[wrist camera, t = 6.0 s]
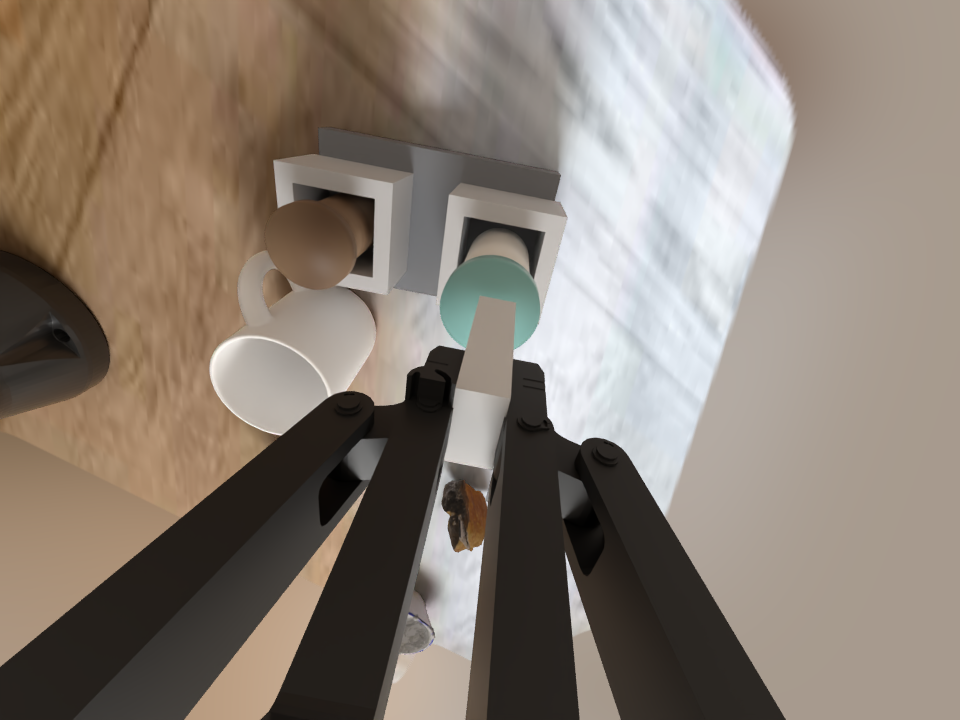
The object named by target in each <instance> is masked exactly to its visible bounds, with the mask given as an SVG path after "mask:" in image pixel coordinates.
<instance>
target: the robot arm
mask: <svg viewBox="0 0 960 720" xmlns="http://www.w3.org/2000/svg"><path fill="white" fill-rule="evenodd" d="M515 313H516V303H515V302H510V301H505V300H500V299H495V298H490V297H485V296H480V297H479V301H478V304H477V308H476V312H475V316H474V320H473V323H472V327H471V331H470V335H469V338H468V342H467V346H466V350H465V351H464V350H459V349H454V348H449V347H444V346H438V347H436V348H435V349H433V350H432V351H430V353H429V356H428V358H427V361H426V363H425V365H424V366H421V367H417V368H415V369H413V370H411V371H410V372H409V373H408V374H407V383H406V395H405V401H404V402H402V403H399V404H395V405H388V406H374V402H373V401H372V399H371V398H370V397H369V396H367V395H365V394H363V393H359V392H355V391H344V392H340V393H336V394H333V395H332V396H330V397H328V398H326V399H325V400H324V401H323V402H322V403H320V404H319V405H318V406H317V407H316V408H314V409H313V410H312V411H311V412H309V413H308V414H307V415H306V416H305V417H303V418H302V419H301V420H300V421H299V422H297V423H296V424H295V425H294V426H292V427H291V428H290V429H289V430H288V431H286V432H285V433H284V434H283V435H282V436H280V437H279V438H278V439H277V440H275V441H274V442H273V443H272V444H271V445H269V446H268V447H267V448H266V449H265V450H263V451H262V452H261V453H260V454H258V455H257V456H256V457H255V458H254V459H252V460H251V461H250V462H249V463H247V464H246V465H245V466H244V467H243V468H241V469H240V470H239V471H238V472H237V473H235V474H234V475H233V476H232V477H230V478H229V479H228V480H227V481H226V482H224V483H223V484H222V485H221V486H220V487H218V488H217V489H216V490H215V491H213V492H212V493H211V494H210V495H209V496H207V497H206V498H205V499H204V500H203V501H201V502H200V503H199V504H198V505H196V506H195V507H194V508H193V509H192V510H190V511H189V512H188V513H187V514H186V515H184V516H183V517H182V518H181V519H179V520H178V521H177V522H176V523H175V524H173V525H172V526H171V527H170V528H169V529H168V530H166V531H165V532H164V533H162V534H161V535H160V536H159V537H158V538H156V539H155V540H154V541H153V542H151V543H150V544H149V545H148V546H147V547H146V548H144V549H143V550H142V551H141V552H139V553H138V554H137V555H136V556H134V557H133V558H132V559H131V560H130V561H128V562H127V563H126V564H125V565H124V566H122V567H121V568H120V569H119V570H117V571H116V572H115V573H114V574H113V575H111V576H110V577H109V578H108V579H107V580H105V581H104V582H103V583H102V584H100V585H99V586H98V587H97V588H96V589H95V590H93V591H92V592H91V593H90V594H88V595H87V596H86V597H85V598H83V599H82V600H81V601H80V602H79V603H77V604H76V605H75V606H74V607H73V608H71V609H70V610H69V611H68V612H66V613H65V614H64V615H63V616H62V617H60V618H59V619H58V620H57V621H56V622H55V623H53V624H52V625H51V626H49V627H48V628H47V629H46V630H45V631H43V632H42V633H41V634H40V635H39V636H37V637H36V638H35V639H34V640H32V641H31V642H30V643H29V644H28V645H27V646H25V647H24V648H23V649H22V650H21V651H19V652H18V653H17V654H15V655H14V656H13V657H12V658H11V659H9V660H8V661H7V662H6V663H5V664H3V665H2V666H1V667H0V720H184V719H185V718H186V716H187V715H188V714H189V713H190V711H191V710H192V709H193V707H194V706H195V705H196V704H197V702H198V701H199V700H200V698H201V697H202V696H203V695H204V693H205V692H206V691H207V690H208V688H209V687H210V686H211V685H212V683H213V682H214V680H215V679H216V678H217V677H218V676H219V674H220V673H221V672H222V671H223V669H224V668H225V667H226V665H227V664H228V663H229V662H230V660H231V659H232V658H233V656H234V655H235V654H236V653H237V651H238V650H239V649H240V648H241V646H242V645H243V644H244V642H245V641H246V640H247V639H248V637H249V636H250V635H251V634H252V632H253V631H254V630H255V628H256V627H257V626H258V625H259V623H260V622H261V621H262V620H263V618H264V617H265V616H266V615H267V613H268V612H269V611H270V609H271V608H272V607H273V606H274V604H275V603H276V602H277V601H278V599H279V598H280V597H281V595H282V594H283V593H284V591H285V590H286V589H287V588H288V587H289V585H290V584H291V583H292V581H293V580H294V579H295V578H296V576H297V575H298V574H299V573H300V571H301V570H302V569H303V567H304V566H305V565H306V564H307V562H308V561H309V560H310V559H311V557H312V556H313V555H314V553H315V552H316V551H317V550H318V548H319V547H320V546H321V545H322V543H323V542H324V541H325V539H326V538H327V537H328V536H329V534H330V533H331V532H332V531H333V529H334V528H335V527H336V525H337V524H338V523H339V522H340V520H341V519H342V518H343V516H344V515H345V514H346V513H347V511H348V510H349V509H350V508H351V506H352V505H353V504H354V502H355V501H356V500H357V499H358V497H359V496H360V495H361V494H362V492H363V491H364V490H365V488H366V487H367V486H368V487H367V489H366V491H365V494H364V496H363V498H362V501H361V503H360V505H359V508H358V510H357V512H356V515H355V517H354V519H353V522H352V524H351V526H350V529H349V531H348V533H347V536H346V538H345V540H344V543H343V545H342V547H341V550H340V552H339V554H338V557H337V559H336V561H335V564H334V566H333V568H332V571H331V573H330V575H329V577H328V580H327V582H326V584H325V587H324V589H323V591H322V594H321V596H320V598H319V601H318V603H317V605H316V608H315V610H314V613H313V615H312V617H311V619H310V622H309V624H308V627H307V629H306V631H305V633H304V636H303V638H302V640H301V643H300V645H299V647H298V650H297V652H296V654H295V657H294V659H293V661H292V664H291V666H290V668H289V671H288V673H287V675H286V678H285V680H284V682H283V684H282V687H281V689H280V692H279V694H278V696H277V698H276V700H275V702H274V704H273V705H272V707H271V709H270V710H269V712H268V713H267V714H266V715H265V716H264V717H263V718H262V719H261V720H383V718H384V714H385V710H386V706H387V701H388V697H389V693H390V689H391V685H392V680H393V676H394V672H395V668H396V664H397V659H398V655H399V651H400V647H401V642H402V638H403V634H404V630H405V625H406V621H407V617H408V613H409V609H410V604H411V600H412V596H413V592H414V587H415V583H416V579H417V575H418V570H419V566H420V562H421V558H422V554H423V549H424V545H425V541H426V537H427V532H428V528H429V524H430V520H431V515H432V511H433V507H434V503H435V499H436V494H437V490H438V486H439V482H440V477H441V473H442V467H443V461H448V462H454V463H459V464H464V465H469V466H474V467H479V468H484V469H489V470H492V469H493V474H492V478H491V482H490V485H489V489H488V493H487V497H486V500H485V501H487V502H488V507H487V517H486V526H485V536H484V546H483V555H482V565H481V575H480V585H479V594H478V604H477V614H476V623H475V633H474V643H473V652H472V662H471V672H470V682H469V691H468V701H467V710H466V720H579V708H578V697H577V685H576V673H575V662H574V651H573V640H572V628H571V616H570V605H569V593H568V582H567V570H566V559H565V552H566V555H567V558H568V561H569V564H570V567H571V570H572V573H573V576H574V579H575V582H576V585H577V588H578V591H579V594H580V597H581V600H582V603H583V606H584V609H585V613H586V616H587V619H588V622H589V625H590V628H591V631H592V633H593V637H594V640H595V643H596V646H597V649H598V652H599V654H600V658H601V661H602V664H603V667H604V670H605V673H606V676H607V679H608V682H609V685H610V688H611V691H612V694H613V697H614V700H615V703H616V706H617V709H618V712H619V715H620V718H621V720H786V719H785V718H784V716H783V714H782V712H781V711H780V709H779V707H778V706H777V704H776V702H775V701H774V699H773V697H772V696H771V694H770V692H769V691H768V689H767V687H766V686H765V684H764V683H763V681H762V679H761V677H760V676H759V674H758V673H757V671H756V669H755V667H754V666H753V664H752V662H751V661H750V659H749V657H748V656H747V654H746V652H745V651H744V649H743V647H742V646H741V644H740V642H739V641H738V639H737V637H736V635H735V634H734V632H733V631H732V629H731V627H730V626H729V624H728V622H727V621H726V619H725V617H724V615H723V614H722V612H721V610H720V609H719V607H718V606H717V604H716V602H715V601H714V599H713V597H712V595H711V594H710V592H709V590H708V589H707V587H706V585H705V584H704V582H703V580H702V579H701V577H700V575H699V574H698V572H697V570H696V569H695V567H694V565H693V564H692V562H691V560H690V559H689V557H688V555H687V554H686V552H685V550H684V548H683V547H682V545H681V543H680V542H679V540H678V538H677V537H676V535H675V533H674V532H673V530H672V529H671V527H670V525H669V523H668V522H667V520H666V518H665V517H664V515H663V513H662V512H661V510H660V508H659V507H658V505H657V503H656V502H655V500H654V498H653V497H652V495H651V493H650V492H649V490H648V488H647V487H646V485H645V483H644V482H643V480H642V478H641V477H640V475H639V473H638V471H637V470H636V468H635V466H634V465H633V463H632V461H631V460H630V458H629V456H628V455H627V454H626V453H625V452H624V450H623V449H622V448H620V447H619V446H618V445H616V444H615V443H613V442H610V441H608V440H606V439H601V438H589V439H587V440H585V441H584V442H582V445H578V444H576V443H574V442H571V441H569V440H567V439H565V438H563V437H561V436H560V435H559V434H557V433H556V432H555V431H554V427H553V424H552V422H551V421H550V419H549V418H548V417H547V406H546V392H545V384H544V383H545V378H544V372H543V371H542V369H541V368H540V366H539V365H538V364H536V363H531V362H525V361H520V360H515V359H513V349H514V331H515ZM109 361H110V359H109V350H108V346H107V343H106V340H105V337H104V335H103V333H102V331H101V329H100V327H99V325H98V324H97V322H96V321H95V319H94V318H93V316H92V315H91V313H90V312H89V311H88V310H87V308H86V307H85V306H84V305H83V304H82V303H81V301H80V300H79V299H78V298H77V297H76V296H75V295H74V294H73V293H72V292H71V291H69V290H68V289H67V288H66V287H65V286H64V285H63V284H61V283H60V282H59V281H58V280H56V279H55V278H54V277H52V276H51V275H49V274H48V273H47V272H45V271H43V270H42V269H40V268H39V267H37V266H35V265H34V264H32V263H30V262H28V261H26V260H24V259H22V258H20V257H17V256H15V255H13V254H10V253H7V252H4V251H1V250H0V419H2V418H6V417H9V416H13V415H16V414H20V413H23V412H27V411H30V410H34V409H37V408H41V407H44V406H48V405H51V404H55V403H58V402H61V401H65V400H68V399H71V398H74V397H76V396H78V395H80V394H82V393H83V392H85V391H86V390H88V389H90V388H91V387H93V386H95V385H96V384H98V383H99V382H100V381H101V380H102V379H103V378H104V377H105V375H106V373H107V371H108V368H109ZM493 465H494V468H493Z"/></svg>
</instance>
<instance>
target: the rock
mask: <svg viewBox="0 0 960 720" xmlns="http://www.w3.org/2000/svg"><path fill="white" fill-rule="evenodd" d="M442 506H443V509H444V511H445V512H447V513H448V514H449V515H450V518H449V521H448V532H449V535H450V539H451V544H452V547H453V550H454V551H455V552H458V553H459V551H462V550H464V549H468V550H470V551H472V550H473V547H478V546H480V545H482V541H483V539H484V536H485V526H486V517H487V504H486V501H485V498H484V496H483V494H482V493H481V492H480V491H475V489H474V488H472V487H471V486H470V485H468V484H466V483H465V480H458V481H456V480H455V481H451V482H449V483H448V484H446V485H445V488H444V491H443V499H442Z"/></svg>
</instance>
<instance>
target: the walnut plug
mask: <svg viewBox="0 0 960 720" xmlns="http://www.w3.org/2000/svg"><path fill="white" fill-rule="evenodd" d="M374 214H375V199H374V198H368V197H363V196H358V195H353V194H348V193H343V192H340V193H338V194H335V195H333V196H330V197H328V198H325V199H323V200H320V201H315V200H309V199H304V200H297V201H294V202H291V203H289V204H286V205H283V206H281V207H279V208H278V209H276V210H275V211H274V212H273V213H272V214H271V216H270V217H269V219H268V221H267V224H266V228H265V244H266V248H267V251H268V254H269V256H270V258H271V260H272V262H273V263H274V265H275V266H276V268H277V269H278V270H279V271H280V272H281V273H282V274H283V275H284V276H285V277H286V278H287V279H289V280H290V281H292V282H293V283H295V284H297V285H299V286H301V287H304V288H308V289H313V290H323V289H328V288H331V287H333V286H335V285H337V284H338V283H340V282H341V281H342V280H343V279H344V278H345V277H346V276H347V275H349V273H350V272H351V271H352V269H353V267H354V265H355V263H356V258H358V257H359V256H360V255H361V254H362V253H364V252H365V251H366V250H367V249H368V248H370V247H371V246H372V245H373V244H374Z"/></svg>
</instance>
